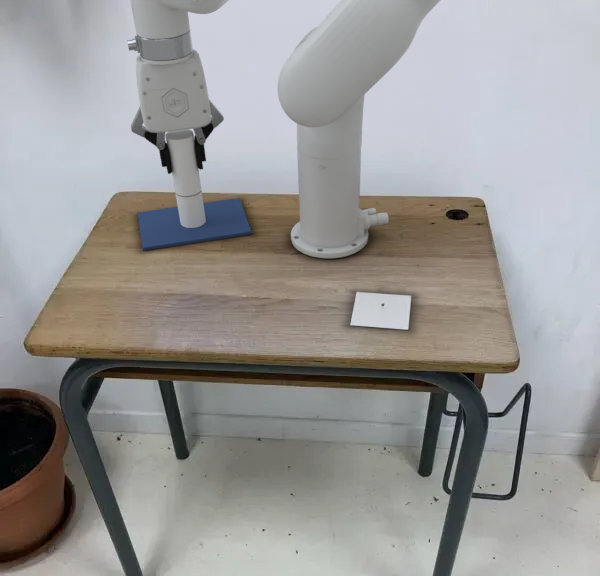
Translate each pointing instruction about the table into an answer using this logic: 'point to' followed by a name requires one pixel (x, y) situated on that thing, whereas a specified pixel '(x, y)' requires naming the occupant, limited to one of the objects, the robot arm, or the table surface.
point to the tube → (186, 177)
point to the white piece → (381, 310)
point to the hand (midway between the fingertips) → (184, 166)
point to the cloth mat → (169, 232)
